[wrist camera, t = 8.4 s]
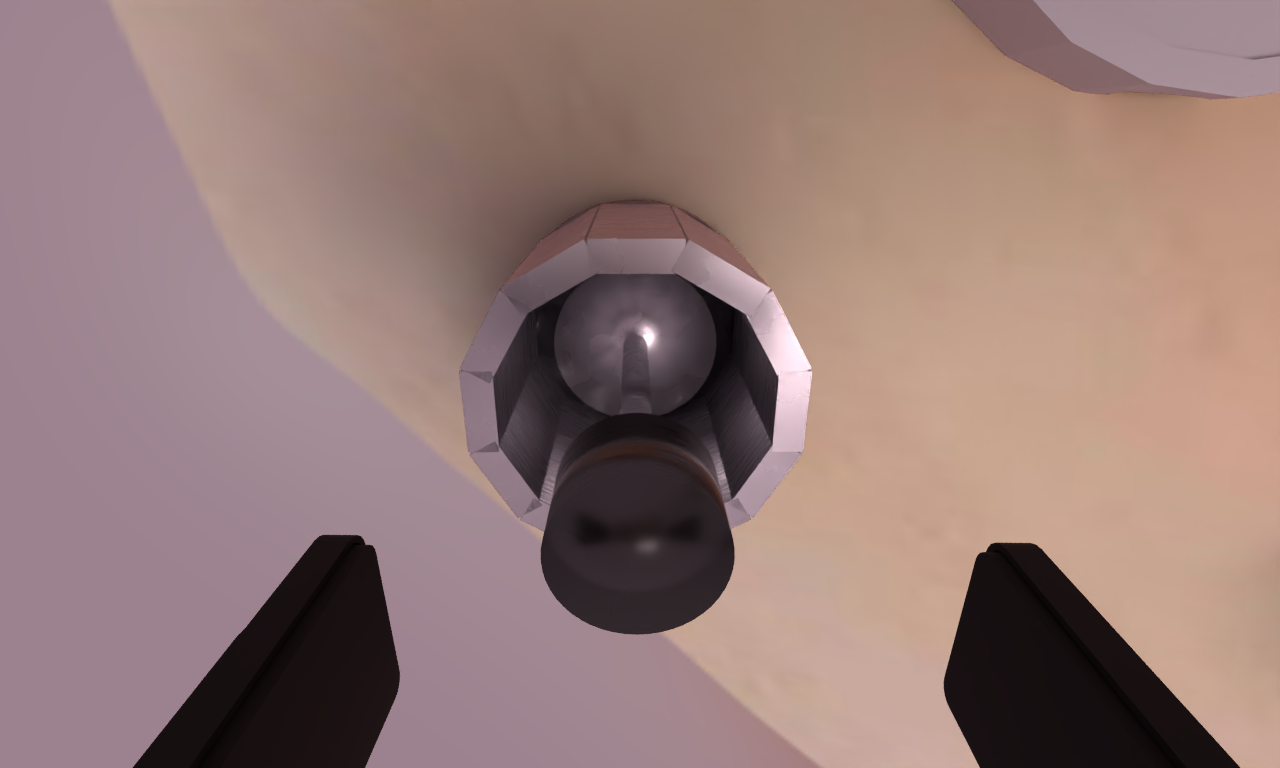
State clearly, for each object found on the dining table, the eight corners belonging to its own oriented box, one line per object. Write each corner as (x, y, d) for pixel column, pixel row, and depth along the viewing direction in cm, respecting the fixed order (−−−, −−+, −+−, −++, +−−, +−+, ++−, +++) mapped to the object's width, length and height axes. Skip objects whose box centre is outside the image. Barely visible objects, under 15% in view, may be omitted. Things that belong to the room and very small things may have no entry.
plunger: (552, 260, 23) (458, 413, 10) (717, 260, 23) (816, 412, 10) (560, 410, 25) (490, 680, 13) (710, 410, 25) (784, 679, 13)
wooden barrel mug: (508, 199, 24) (441, 236, 16) (761, 200, 24) (829, 236, 16) (528, 486, 29) (486, 630, 21) (740, 486, 29) (783, 629, 21)
